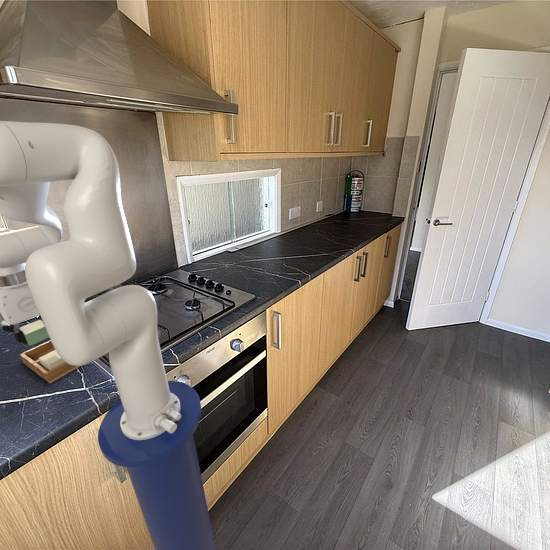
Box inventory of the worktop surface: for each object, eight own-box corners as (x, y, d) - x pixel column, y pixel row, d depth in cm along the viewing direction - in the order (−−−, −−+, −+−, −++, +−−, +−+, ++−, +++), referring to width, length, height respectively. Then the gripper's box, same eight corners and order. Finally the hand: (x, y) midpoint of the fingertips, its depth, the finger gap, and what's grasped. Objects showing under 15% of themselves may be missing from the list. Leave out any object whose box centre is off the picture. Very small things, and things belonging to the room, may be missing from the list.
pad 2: (74, 363, 81) (70, 352, 80) (52, 375, 77) (48, 364, 76) (64, 357, 84) (60, 346, 83) (43, 368, 80) (38, 358, 78)
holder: (83, 364, 82) (80, 355, 81) (50, 383, 76) (46, 374, 74) (55, 347, 90) (52, 338, 89) (23, 363, 83) (19, 354, 82)
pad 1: (53, 335, 82) (49, 324, 81) (30, 346, 78) (25, 334, 77) (44, 330, 85) (39, 319, 84) (21, 339, 81) (16, 328, 79)
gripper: (-27, 294, 66) (4, 358, 73) (56, 268, 79) (76, 325, 86) (-39, 287, 70) (-8, 349, 77) (43, 264, 83) (63, 319, 90)
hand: (36, 336), depth 81 cm, fingers closed on pad 1, 5 cm apart
